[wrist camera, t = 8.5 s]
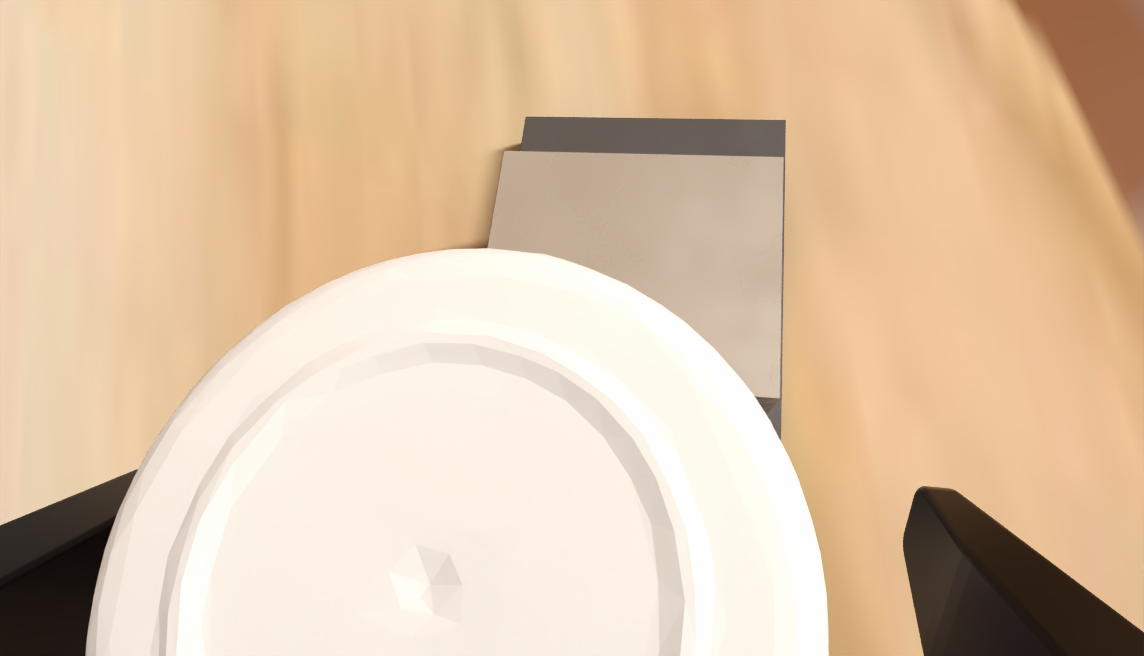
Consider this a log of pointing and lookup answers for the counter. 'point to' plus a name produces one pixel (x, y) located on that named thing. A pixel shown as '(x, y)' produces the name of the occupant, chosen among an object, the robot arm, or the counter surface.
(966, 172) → the counter surface
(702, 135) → the mounting plate
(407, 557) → the sprinkles bottle
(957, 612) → the robot arm
